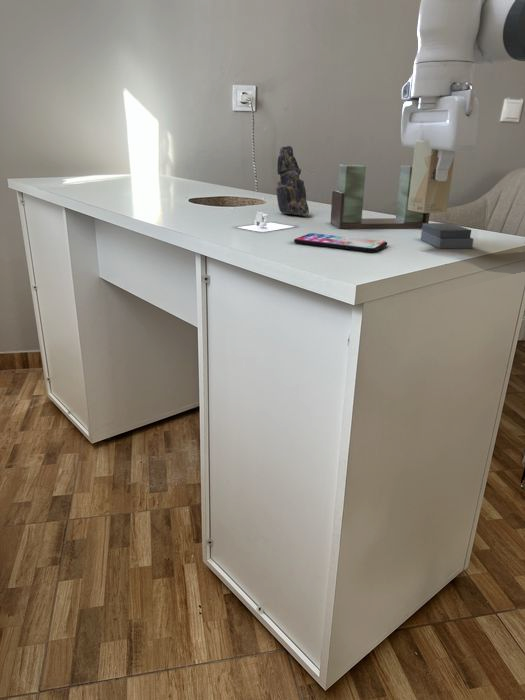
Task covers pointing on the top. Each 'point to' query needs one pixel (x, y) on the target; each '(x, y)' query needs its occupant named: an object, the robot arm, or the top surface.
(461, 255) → the top surface
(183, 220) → the top surface
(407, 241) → the top surface
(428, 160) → the box
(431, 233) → the grey books
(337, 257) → the top surface
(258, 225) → the adhesive hook
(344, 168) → the book rack
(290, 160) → the statue
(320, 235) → the smartphone
